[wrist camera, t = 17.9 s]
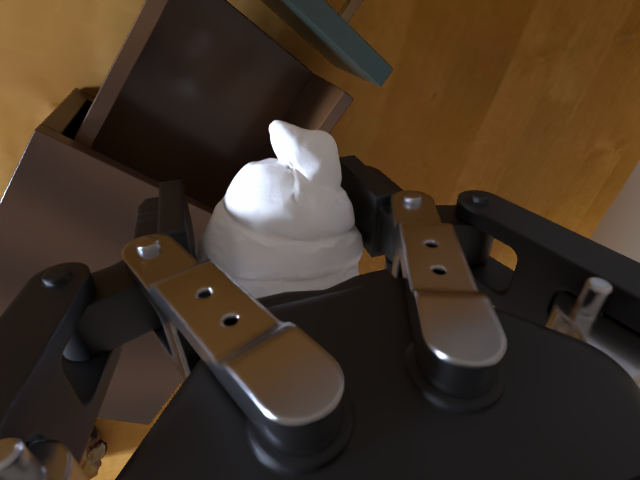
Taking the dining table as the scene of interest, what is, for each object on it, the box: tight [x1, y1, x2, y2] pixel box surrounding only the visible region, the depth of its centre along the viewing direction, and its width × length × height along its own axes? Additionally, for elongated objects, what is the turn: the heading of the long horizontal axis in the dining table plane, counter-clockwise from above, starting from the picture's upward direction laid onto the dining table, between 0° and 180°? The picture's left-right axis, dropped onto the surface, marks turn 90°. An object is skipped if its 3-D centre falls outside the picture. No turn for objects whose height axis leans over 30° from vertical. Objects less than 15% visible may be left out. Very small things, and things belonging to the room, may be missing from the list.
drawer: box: [74, 0, 393, 209], centre depth 23 cm, size 22×13×7 cm, turn 141°
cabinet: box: [0, 88, 214, 425], centre depth 27 cm, size 18×14×9 cm
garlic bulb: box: [197, 120, 363, 299], centre depth 12 cm, size 6×6×6 cm
